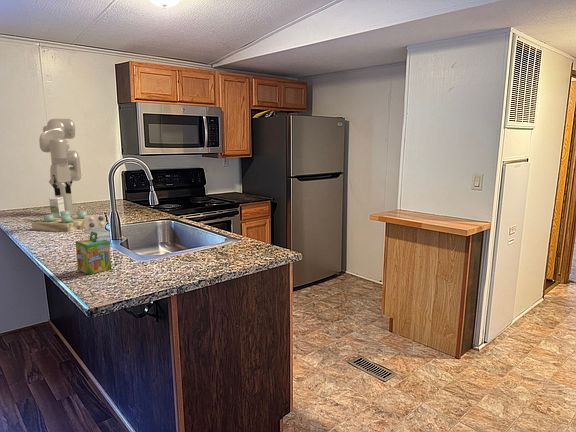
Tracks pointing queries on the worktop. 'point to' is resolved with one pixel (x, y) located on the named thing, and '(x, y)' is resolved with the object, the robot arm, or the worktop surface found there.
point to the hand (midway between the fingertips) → (63, 194)
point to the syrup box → (56, 206)
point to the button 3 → (66, 219)
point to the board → (59, 224)
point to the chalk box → (93, 255)
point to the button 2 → (64, 213)
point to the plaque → (95, 221)
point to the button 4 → (81, 215)
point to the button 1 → (48, 218)
